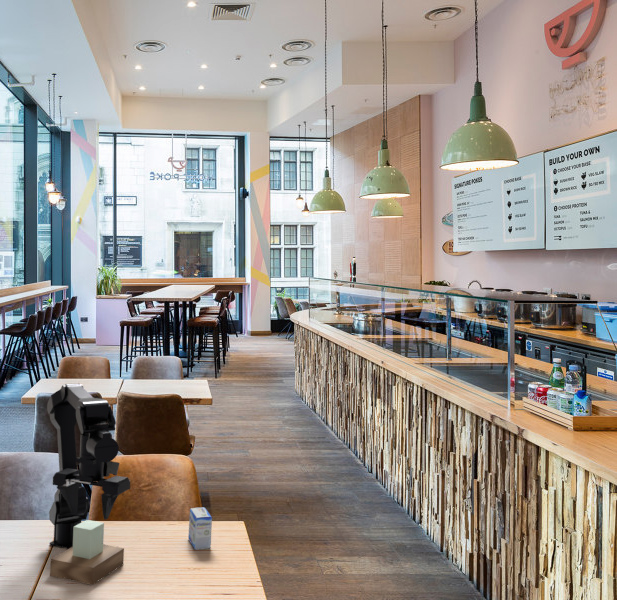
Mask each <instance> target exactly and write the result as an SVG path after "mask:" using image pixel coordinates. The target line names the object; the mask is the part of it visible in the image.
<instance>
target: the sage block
mask: <svg viewBox="0 0 617 600" xmlns="http://www.w3.org/2000/svg"><path fill="white" fill-rule="evenodd" d="M104 533H105V522H102V521H97V520H90V519H86V520H83V521H81V523H80V524H78V525H76V526H74V527H73V556H77V557H82V558H86V559H91V558H93V557H94V556H96V555H98V554H99V553H101V552H103V544H104V541H105V540H104V538H105V537H104V535H105V534H104Z"/></svg>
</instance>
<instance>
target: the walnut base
mask: <svg viewBox="0 0 617 600" xmlns="http://www.w3.org/2000/svg"><path fill="white" fill-rule="evenodd" d="M124 555H125V548H124V547H119V546H115V545H109V544H104V543H103V552H101V553H99V554H98V555H96V556H94V557H93V558H91V559H86V558H82V557H77V556H73V547H71V548H69V549H67V548H66V550H64V551H62V552H60V553H59V554H57V555H55V556H53V557H51V558H50V563H49V564H50V566H49V567H50V568H49V576H50V577H54V578H60V579H64V580H68V581H73V582H78V583H83V584H87V585H91V586H92V585H95V584H96V583H98V582H99V581H101V580H102V579H103V577H104V578H106V575H107V576H109V573H110V574H111V573H113V572H114V571H115V569H116V568H117V569H118V567H119V566H120V567H122V566H123V565H124ZM122 564H123V565H122ZM121 565H122V566H121ZM120 567H119V568H120ZM117 569H116V570H117ZM112 571H113V572H112ZM101 578H102V579H101ZM100 579H101V580H100ZM98 580H99V581H98ZM97 581H98V582H97ZM94 583H95V584H94Z"/></svg>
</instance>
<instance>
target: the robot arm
mask: <svg viewBox="0 0 617 600" xmlns="http://www.w3.org/2000/svg"><path fill="white" fill-rule="evenodd" d="M46 411H47V413H48V415H49V419H50V420H49V421H50V422H51V424H52V425H53V426H54V428H55V429H56V431H57V432H56V433H57V448H58V449H57V450H58V451H57V452H58V466H59V467H58V470H59V471H57V472H55V473H54V474H53V476H52V485H53V486H56V489H57V490H56V492H55V493H54V496H53V497H54V500H53V502H52V504H51V507H50V509H49V511H48V514H49V518H48V519H49V521H50V522H51V524H53V528H54V529H53V540H52V541H50V542H49V546H53V547H59V548H63V549H66V550H67V549H69V548H71V547H73V527H74V526H76V525H78V524H80V523H82V521H86V520H88V519H87V517H88V514H89V513H88V512H89V507H90V501H89V498H88V497H87V489H86V487H85V486H82V485H88V486H95V487H101V488H102V489H101V490H102V491H103V493H102V494H101V496H100V497H101V504H102V505H101V509H102V516H103V517H102V518H103V519H104V520H105V521H106V520H108V519H109V516H110V515H111V512H112V509H113V507H114V505H115V502H116V501H117V498H119V497H118V496H119V495H121V494H123V493H125V492H126V491H128V490H130V489H131V479H129V477H127V476H120V475H118V473H119V467H120V462H116V461H113V460H114V459H116V457H117V456H118V454H119V450H120V447H119V444H118V442H117V440H115V439H114V438H113V437H111V435H112V433H111V431H115V430H116V424H117V422H116V418H115V414H114V412H113V408H112V406H111V404H109V402H108V400H106V399H103V398H96V397H93V396H92V395H91V394H90V393H89V392H88V391H87V390H86V389H85V388H84V385H83V384H82V383H81V384H80V383H79V382H78V383H65V384H63V385H62V386H61V387H60V389H59V390H57V391H55V392H54V393H52V394H51V395H50V397H49V399H48V401H47V406H46ZM76 425H77V426H78V428H79V432H80V438H79V439H80V442H79V443H80V445H79V456H78V455H77V441H76V439H77V438H76ZM78 465H79V469H78ZM110 474H111V475H113V476H112V477H110V478H106V477H109V476H110Z"/></svg>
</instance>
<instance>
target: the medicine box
mask: <svg viewBox="0 0 617 600" xmlns="http://www.w3.org/2000/svg"><path fill="white" fill-rule="evenodd" d="M188 521H189V523H188V540H189V542H190V544H191V545H192V547H193V548H194V550H195V551H196V550H207V549H211V545H212V526H213V525H212V524H213V517H212V516H211V514H210V512H209V511H208V509H206V507H191V508H190V509H189V520H188Z"/></svg>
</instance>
